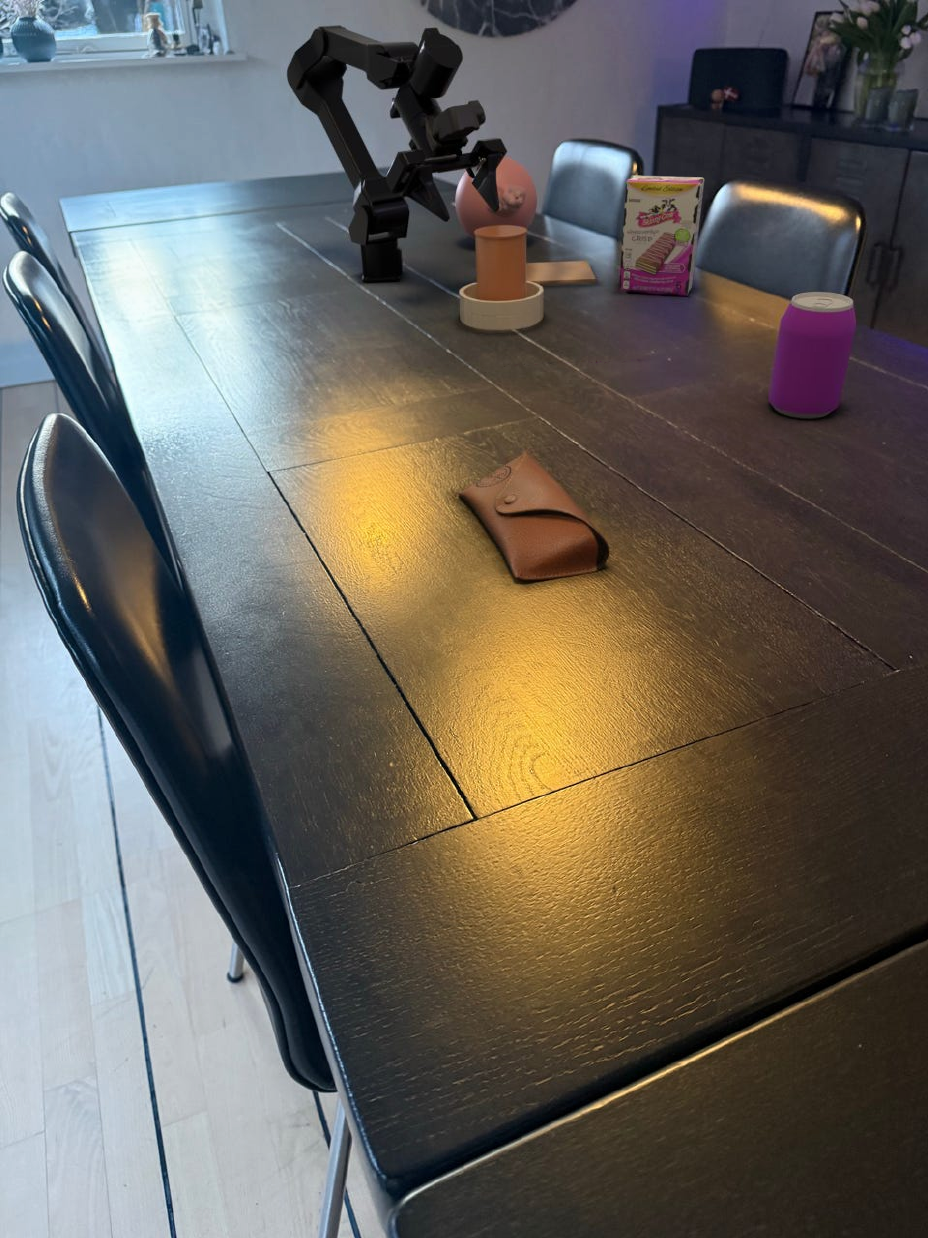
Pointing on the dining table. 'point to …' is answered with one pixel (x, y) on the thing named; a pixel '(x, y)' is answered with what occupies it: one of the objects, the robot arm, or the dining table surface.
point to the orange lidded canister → (500, 263)
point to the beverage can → (812, 354)
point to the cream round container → (501, 309)
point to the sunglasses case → (536, 522)
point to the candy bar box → (660, 234)
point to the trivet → (559, 272)
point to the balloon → (512, 194)
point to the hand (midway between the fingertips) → (473, 214)
